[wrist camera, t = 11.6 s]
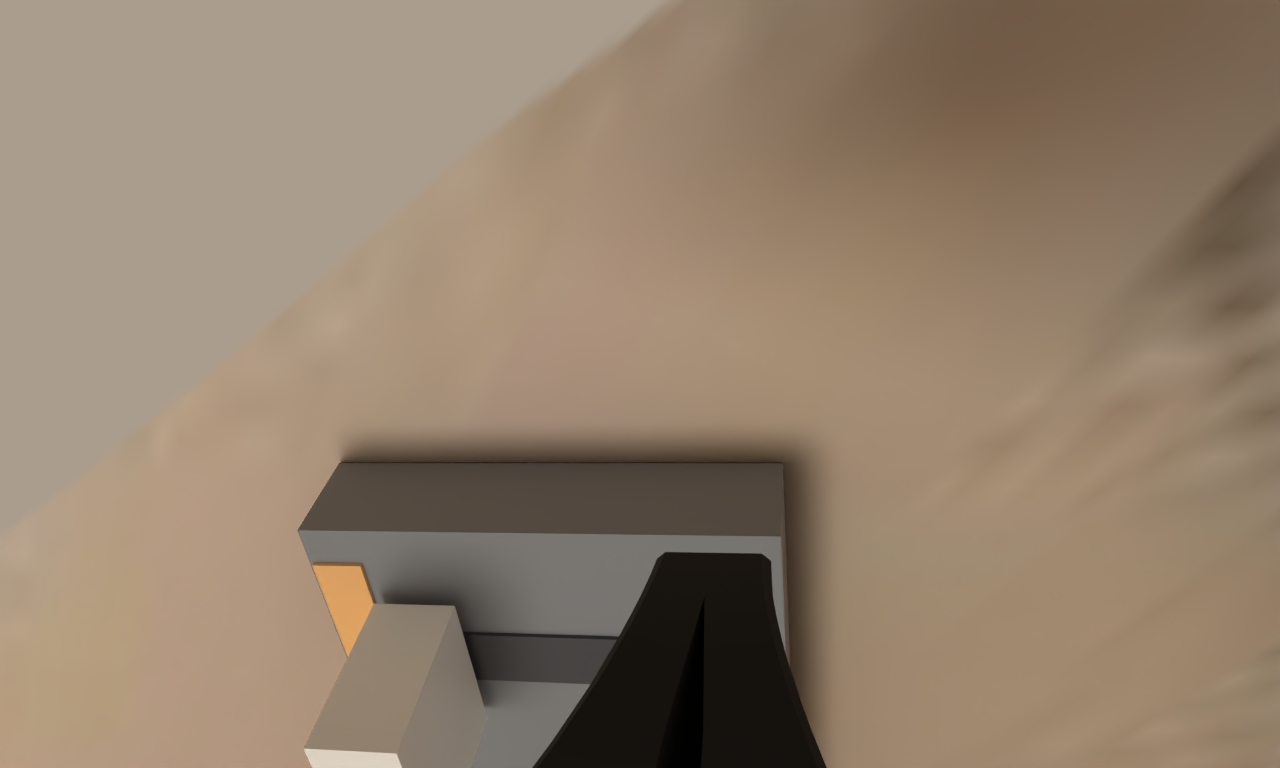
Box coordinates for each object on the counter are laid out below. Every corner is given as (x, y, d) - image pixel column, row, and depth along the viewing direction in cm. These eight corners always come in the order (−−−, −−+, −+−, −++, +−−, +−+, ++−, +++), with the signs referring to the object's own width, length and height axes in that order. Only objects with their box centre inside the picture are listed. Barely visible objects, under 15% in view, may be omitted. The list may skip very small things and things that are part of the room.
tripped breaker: (454, 605, 23) (396, 753, 20) (487, 717, 25) (439, 868, 22) (373, 603, 23) (303, 748, 20) (413, 714, 26) (355, 861, 22)
